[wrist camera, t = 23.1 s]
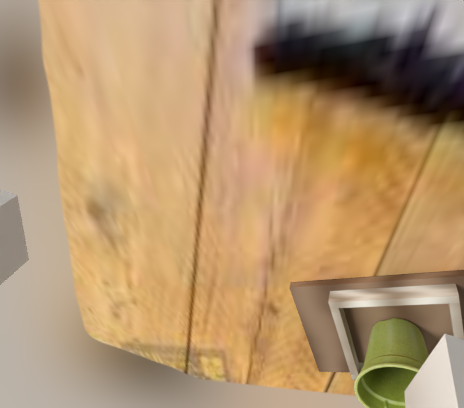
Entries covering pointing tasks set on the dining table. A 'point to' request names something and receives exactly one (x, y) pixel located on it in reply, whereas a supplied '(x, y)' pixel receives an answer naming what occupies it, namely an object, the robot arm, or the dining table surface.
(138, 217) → the dining table surface
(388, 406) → the plant pot
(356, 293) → the jig plate
